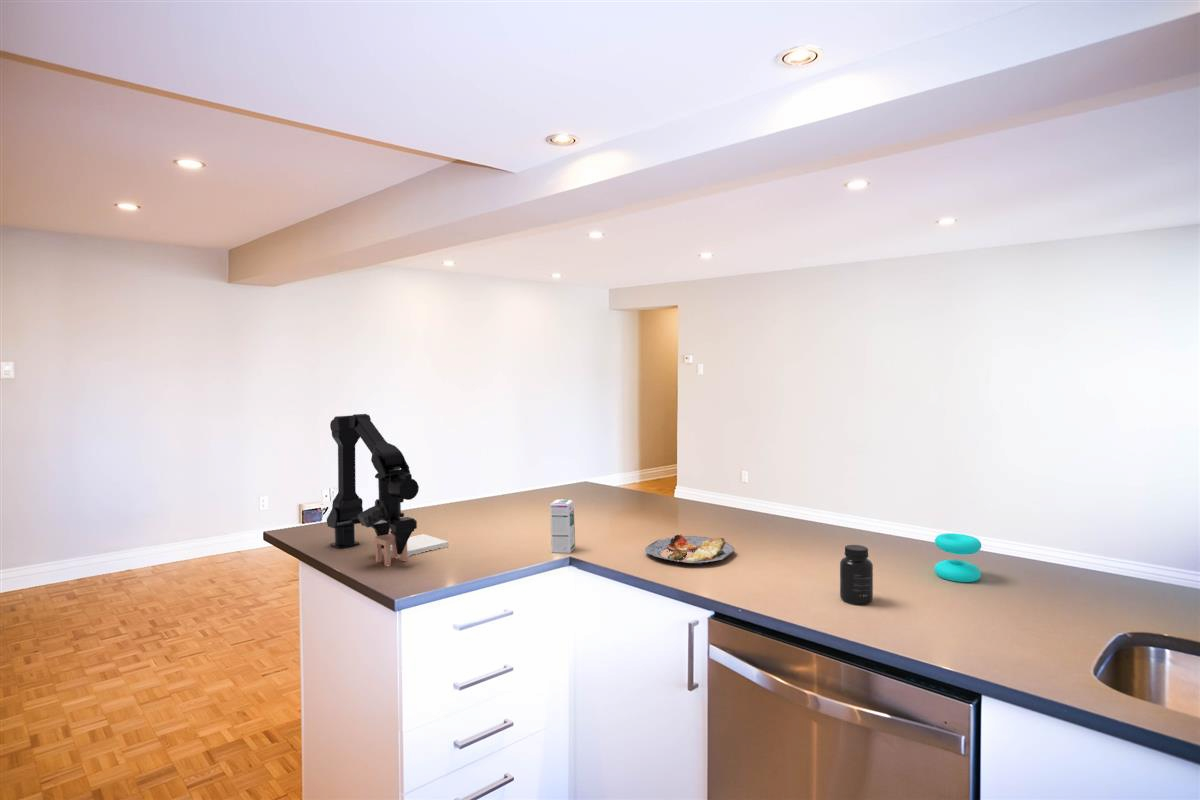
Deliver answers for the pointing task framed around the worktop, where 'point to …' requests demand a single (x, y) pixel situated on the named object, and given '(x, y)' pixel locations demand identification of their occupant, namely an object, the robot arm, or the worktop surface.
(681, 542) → the food plate
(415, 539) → the white board
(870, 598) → the supplement bottle
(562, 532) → the syrup box
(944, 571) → the donuts
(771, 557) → the worktop surface
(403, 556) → the stool
